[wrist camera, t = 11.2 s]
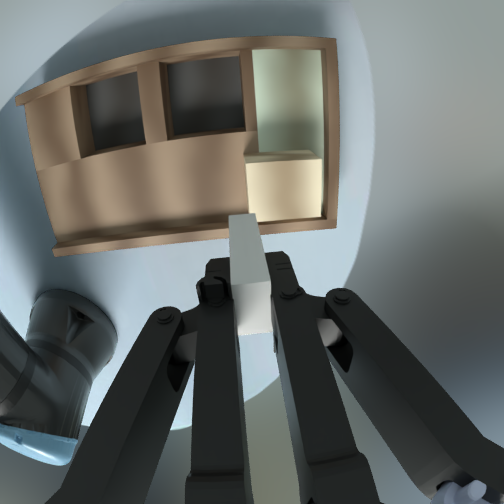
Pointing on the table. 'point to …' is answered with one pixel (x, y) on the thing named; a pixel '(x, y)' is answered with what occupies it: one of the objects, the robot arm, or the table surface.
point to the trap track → (180, 138)
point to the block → (283, 184)
